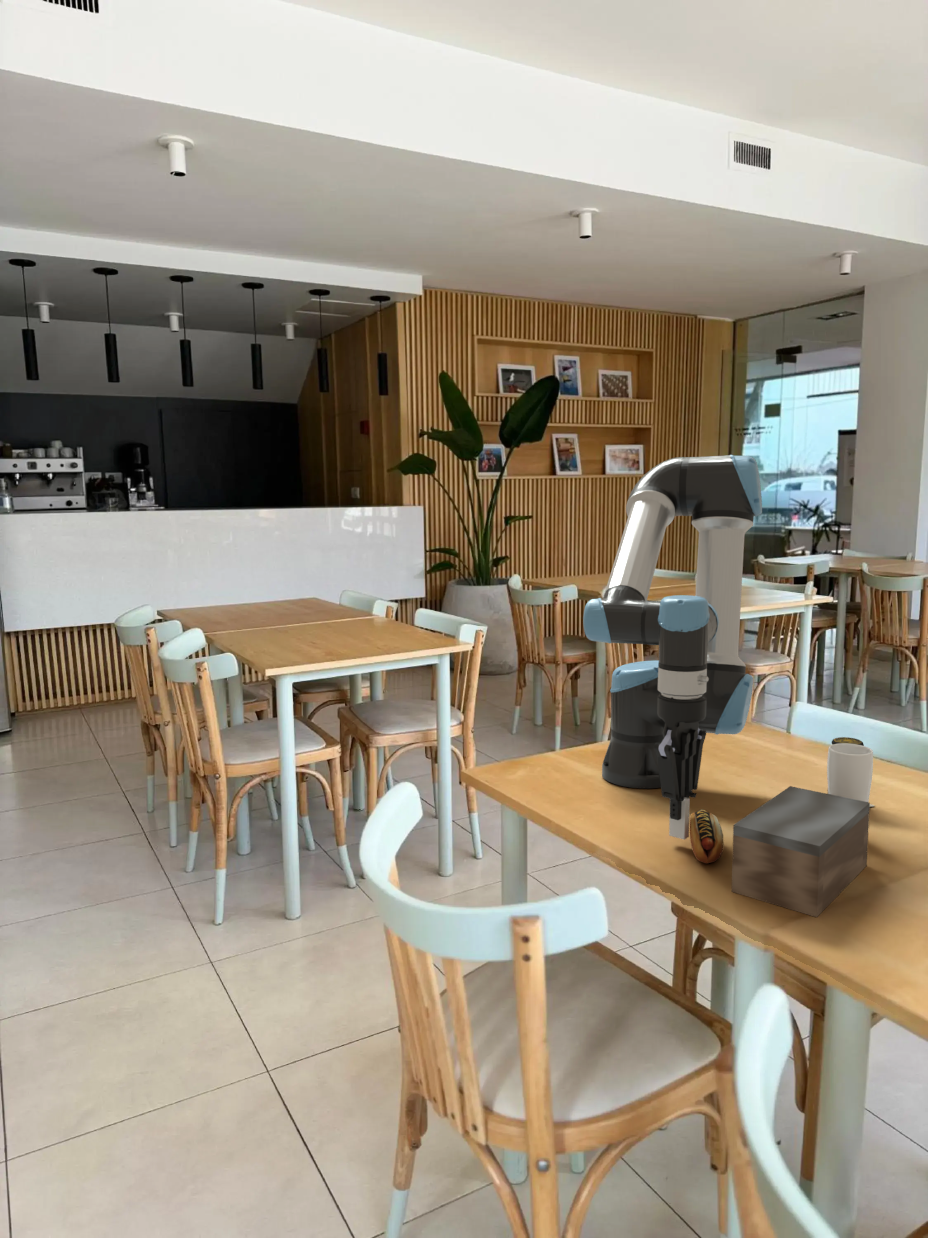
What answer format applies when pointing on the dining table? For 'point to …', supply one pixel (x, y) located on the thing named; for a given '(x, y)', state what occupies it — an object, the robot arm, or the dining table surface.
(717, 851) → the hot dog
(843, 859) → the gray-topped wooden box
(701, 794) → the dining table surface
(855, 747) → the white tapered cylinder
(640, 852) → the dining table surface
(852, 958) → the dining table surface
